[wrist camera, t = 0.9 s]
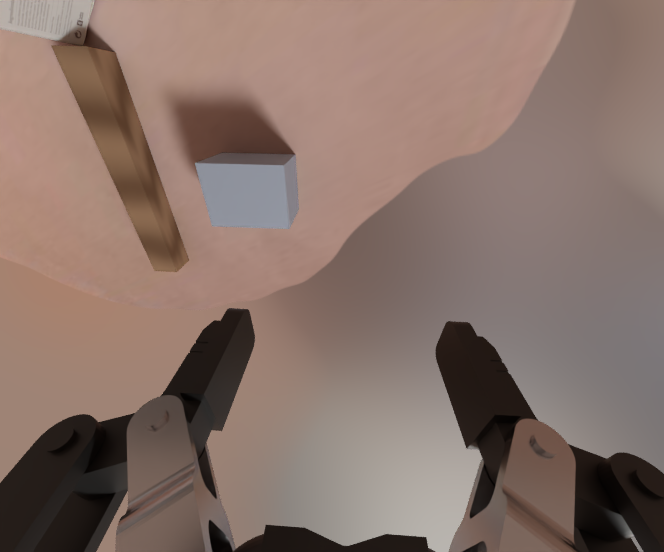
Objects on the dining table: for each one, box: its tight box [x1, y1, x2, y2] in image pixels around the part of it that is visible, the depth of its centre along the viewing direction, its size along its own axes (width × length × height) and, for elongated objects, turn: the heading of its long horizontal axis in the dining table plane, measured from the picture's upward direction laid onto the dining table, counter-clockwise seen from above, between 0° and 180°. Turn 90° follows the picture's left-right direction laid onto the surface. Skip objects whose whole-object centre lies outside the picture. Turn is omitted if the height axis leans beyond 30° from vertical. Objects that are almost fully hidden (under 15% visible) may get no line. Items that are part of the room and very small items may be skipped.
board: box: [52, 46, 189, 272], centre depth 28 cm, size 22×3×3 cm, turn 179°
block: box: [195, 153, 299, 229], centre depth 26 cm, size 6×8×6 cm
